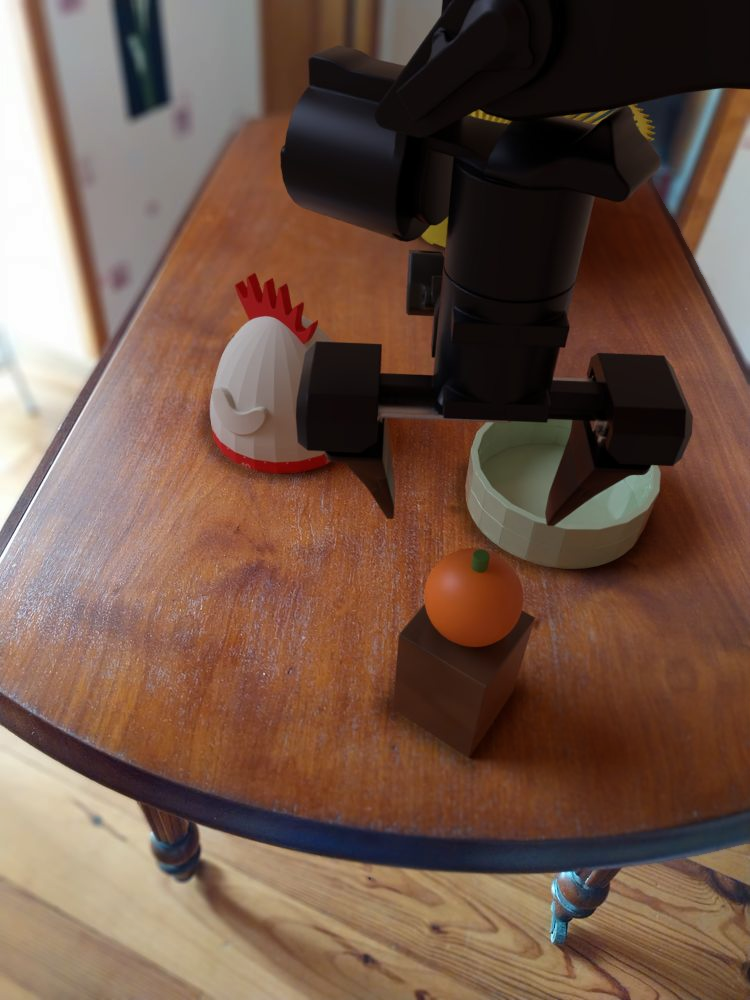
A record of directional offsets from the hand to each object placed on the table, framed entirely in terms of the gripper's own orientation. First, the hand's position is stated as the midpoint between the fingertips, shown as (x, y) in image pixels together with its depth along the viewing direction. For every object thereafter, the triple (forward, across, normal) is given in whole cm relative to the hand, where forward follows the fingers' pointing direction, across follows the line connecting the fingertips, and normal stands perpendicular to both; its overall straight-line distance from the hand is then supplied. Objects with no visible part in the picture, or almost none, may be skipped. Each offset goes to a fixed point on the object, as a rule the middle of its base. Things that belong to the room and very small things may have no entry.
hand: (469, 516), depth 43 cm
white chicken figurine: (+15, +15, -25) cm, 32 cm away
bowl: (+14, -10, -16) cm, 24 cm away
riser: (+14, 0, +4) cm, 15 cm away
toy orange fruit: (+6, 0, +4) cm, 7 cm away
